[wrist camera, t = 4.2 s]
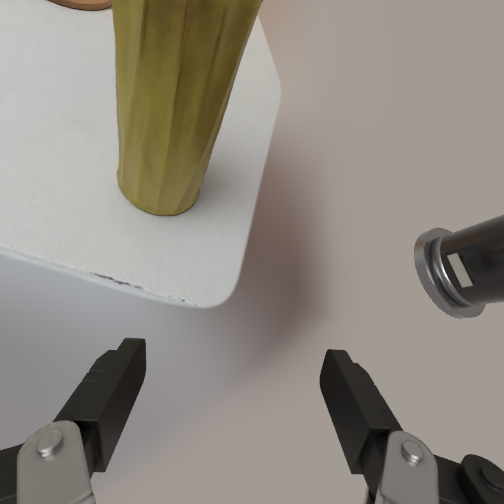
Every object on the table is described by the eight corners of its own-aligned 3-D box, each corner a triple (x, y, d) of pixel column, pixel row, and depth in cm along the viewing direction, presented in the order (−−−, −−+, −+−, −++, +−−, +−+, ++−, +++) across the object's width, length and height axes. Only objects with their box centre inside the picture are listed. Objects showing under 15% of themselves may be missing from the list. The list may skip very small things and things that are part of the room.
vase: (116, 214, 18) (73, -83, 6) (118, 143, 20) (88, -200, 7) (202, 218, 20) (303, 23, 8) (196, 155, 22) (271, -83, 10)
